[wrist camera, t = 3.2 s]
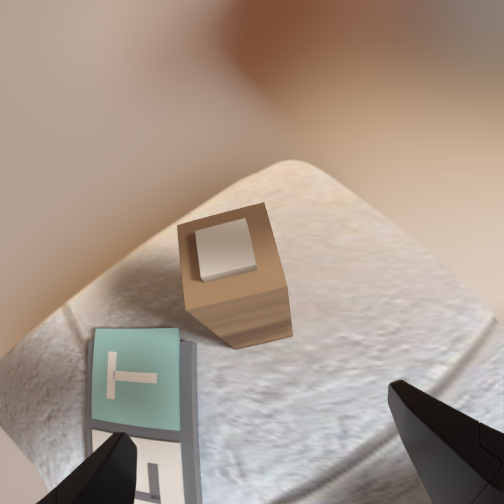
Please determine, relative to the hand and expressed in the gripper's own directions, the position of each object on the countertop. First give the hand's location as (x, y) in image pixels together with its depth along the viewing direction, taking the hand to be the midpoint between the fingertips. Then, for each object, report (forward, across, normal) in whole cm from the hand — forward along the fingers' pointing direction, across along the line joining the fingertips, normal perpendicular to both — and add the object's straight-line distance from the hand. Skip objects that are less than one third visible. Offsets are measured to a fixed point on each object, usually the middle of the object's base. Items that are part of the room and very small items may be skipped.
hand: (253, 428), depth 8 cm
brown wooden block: (+15, 0, +4) cm, 15 cm away
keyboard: (+6, +12, +13) cm, 19 cm away
